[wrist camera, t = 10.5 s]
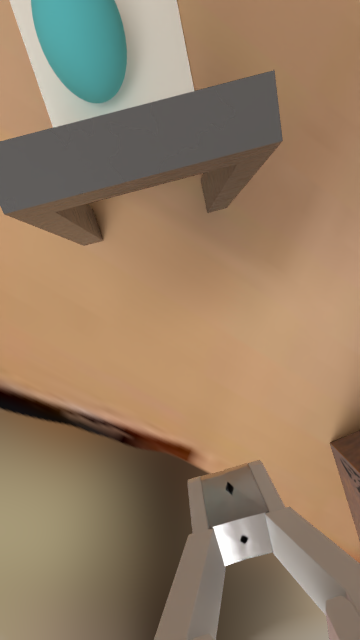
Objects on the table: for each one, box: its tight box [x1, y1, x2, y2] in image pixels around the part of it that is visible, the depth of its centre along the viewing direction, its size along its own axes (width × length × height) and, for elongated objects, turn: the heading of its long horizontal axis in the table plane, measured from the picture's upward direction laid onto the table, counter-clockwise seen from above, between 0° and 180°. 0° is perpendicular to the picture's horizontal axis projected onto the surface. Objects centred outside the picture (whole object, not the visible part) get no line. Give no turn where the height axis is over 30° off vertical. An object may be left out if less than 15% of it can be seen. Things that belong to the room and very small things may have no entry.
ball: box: [31, 0, 127, 103], centre depth 14 cm, size 6×6×6 cm
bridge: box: [0, 71, 283, 246], centre depth 14 cm, size 3×15×10 cm, turn 105°
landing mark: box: [10, 0, 194, 128], centre depth 16 cm, size 13×13×1 cm
